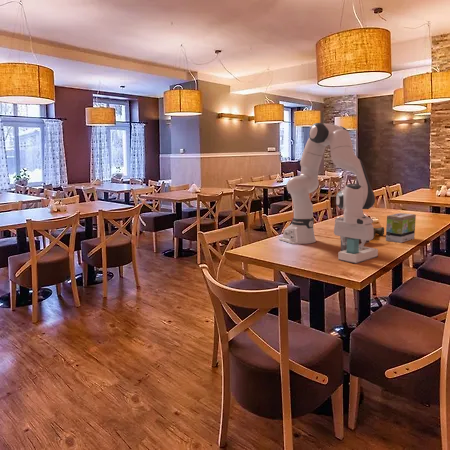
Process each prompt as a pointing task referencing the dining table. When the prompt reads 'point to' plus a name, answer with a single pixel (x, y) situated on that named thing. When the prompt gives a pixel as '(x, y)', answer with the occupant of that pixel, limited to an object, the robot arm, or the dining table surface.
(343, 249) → the flat tab
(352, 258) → the socket block
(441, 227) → the dining table surface
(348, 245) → the square peg
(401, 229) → the tea box
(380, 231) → the kendama
